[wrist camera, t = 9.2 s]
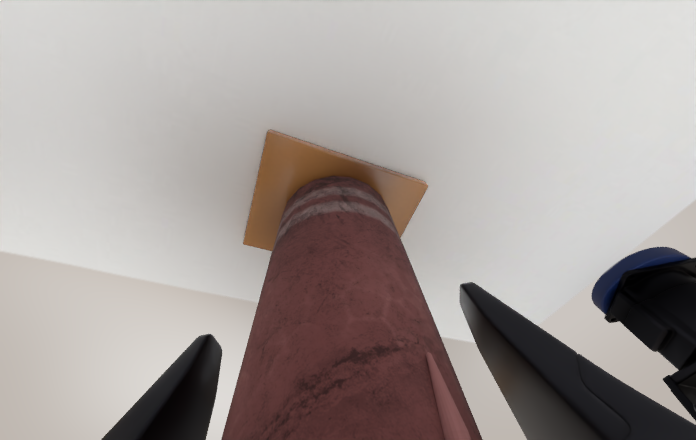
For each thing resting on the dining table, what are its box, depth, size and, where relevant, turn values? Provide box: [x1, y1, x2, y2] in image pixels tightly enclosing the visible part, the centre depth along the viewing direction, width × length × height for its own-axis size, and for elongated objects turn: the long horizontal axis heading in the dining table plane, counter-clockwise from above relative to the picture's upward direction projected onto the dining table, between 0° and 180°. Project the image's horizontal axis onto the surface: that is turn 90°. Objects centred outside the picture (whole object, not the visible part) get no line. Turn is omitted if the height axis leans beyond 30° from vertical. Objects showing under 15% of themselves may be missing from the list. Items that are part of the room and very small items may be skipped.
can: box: [222, 176, 482, 440], centre depth 10 cm, size 6×6×14 cm
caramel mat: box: [243, 130, 428, 251], centre depth 16 cm, size 9×7×1 cm
